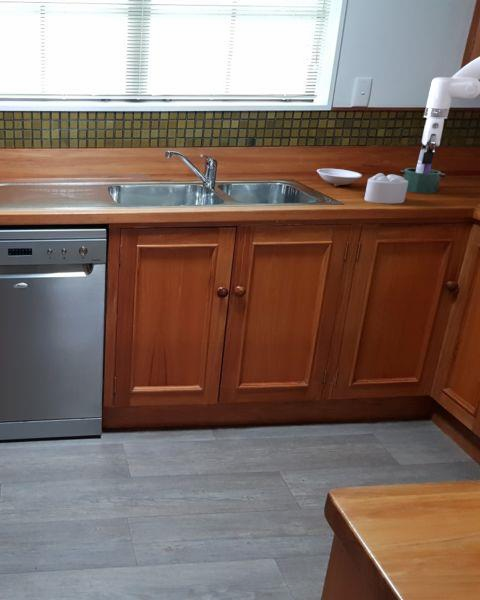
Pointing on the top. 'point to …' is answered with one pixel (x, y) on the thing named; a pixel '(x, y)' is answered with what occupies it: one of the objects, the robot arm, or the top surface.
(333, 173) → the dish
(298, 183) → the top surface
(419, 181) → the pot
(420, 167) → the container
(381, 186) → the lumpy-topped squat cylinder
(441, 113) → the robot arm
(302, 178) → the top surface
